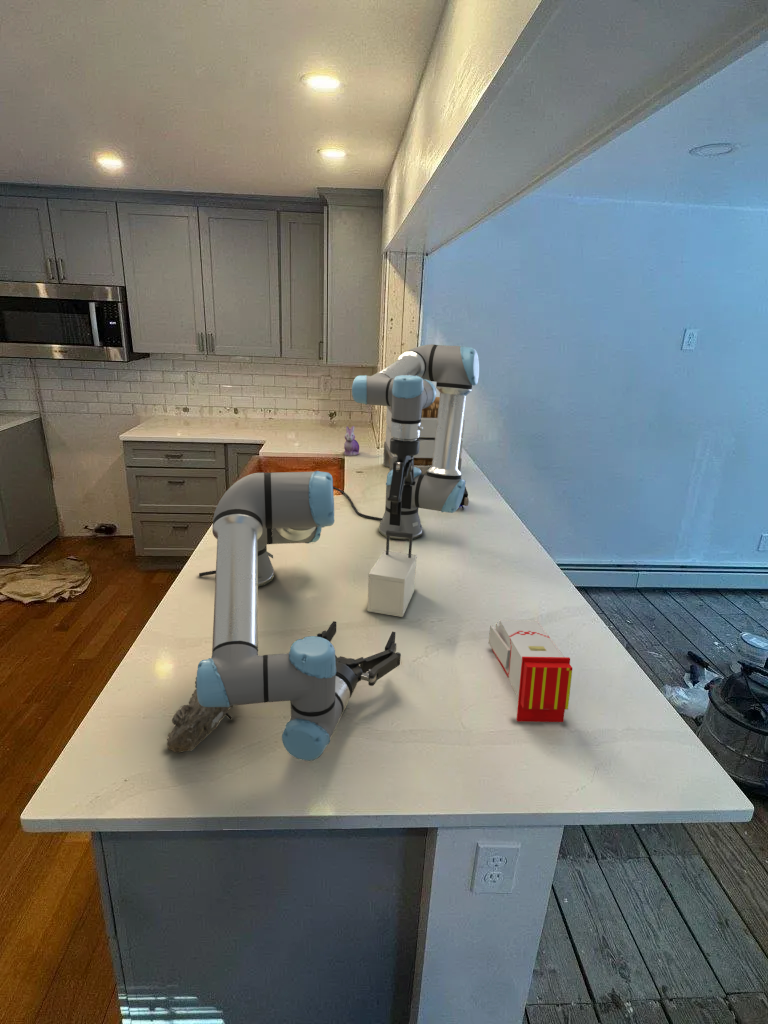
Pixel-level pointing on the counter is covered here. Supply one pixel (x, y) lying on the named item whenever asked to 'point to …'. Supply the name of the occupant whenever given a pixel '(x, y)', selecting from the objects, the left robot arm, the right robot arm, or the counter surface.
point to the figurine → (350, 442)
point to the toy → (533, 669)
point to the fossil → (194, 724)
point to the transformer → (425, 437)
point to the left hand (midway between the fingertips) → (363, 631)
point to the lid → (394, 561)
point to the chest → (390, 595)
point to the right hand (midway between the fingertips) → (400, 516)
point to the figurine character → (464, 499)
